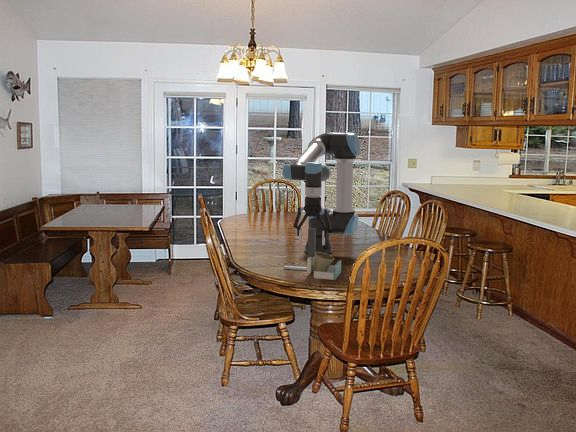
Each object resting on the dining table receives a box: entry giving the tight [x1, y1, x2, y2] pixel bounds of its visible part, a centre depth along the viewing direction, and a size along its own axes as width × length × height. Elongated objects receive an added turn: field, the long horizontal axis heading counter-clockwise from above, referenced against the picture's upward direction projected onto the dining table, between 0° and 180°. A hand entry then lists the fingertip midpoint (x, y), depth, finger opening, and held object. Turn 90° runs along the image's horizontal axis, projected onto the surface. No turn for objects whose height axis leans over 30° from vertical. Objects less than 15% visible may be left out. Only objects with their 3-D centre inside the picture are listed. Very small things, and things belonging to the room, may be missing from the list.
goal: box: [313, 259, 342, 281], centre depth 282 cm, size 14×10×6 cm
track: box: [283, 265, 307, 272], centre depth 293 cm, size 2×17×1 cm, turn 75°
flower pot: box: [312, 252, 335, 273], centre depth 283 cm, size 9×9×9 cm
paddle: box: [306, 228, 316, 274], centre depth 285 cm, size 13×4×20 cm, turn 165°
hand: (311, 243), depth 283 cm, fingers open, 10 cm apart
